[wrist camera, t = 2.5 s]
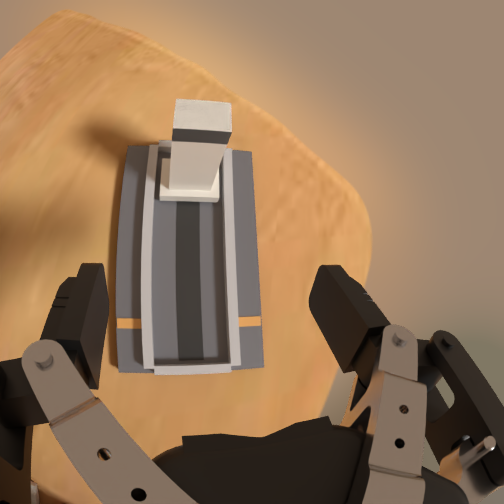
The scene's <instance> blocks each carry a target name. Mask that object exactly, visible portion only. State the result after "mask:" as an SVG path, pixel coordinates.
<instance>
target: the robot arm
mask: <svg viewBox="0 0 504 504" xmlns="http://www.w3.org/2000/svg"><path fill="white" fill-rule="evenodd" d="M309 308H310V311H311V313H312V315H313V317H314V319H315V320H316V322H317V324H318V326H319V328H320V330H321V332H322V334H323V335H324V337H325V339H326V341H327V343H328V345H329V347H330V349H331V350H332V352H333V354H334V356H335V358H336V360H337V362H338V364H339V366H340V367H341V369H342V371H343V373H347V372H352V371H356V373H357V375H356V377H355V378H354V382H353V386H352V389H351V393H350V397H349V401H348V405H347V408H346V412H345V416H344V418H343V421H342V422H341V425H332V424H331V421H330V419H329V417H328V416H326V417H321V418H317V419H312V420H308V421H303V422H298V423H295V424H293V425H290V426H288V427H286V428H284V429H282V430H279V431H277V432H275V433H272V434H270V435H268V436H265V437H247V436H237V435H228V434H210V435H194V436H182V443H183V445H181V446H178V447H174V448H172V449H169V450H167V451H165V452H163V453H161V454H159V455H158V456H156V457H155V458H154V459H152V460H151V459H150V458H149V457H148V456H147V455H146V454H145V453H144V451H143V450H142V449H141V448H140V447H139V446H138V445H137V444H136V443H135V441H134V440H133V439H132V438H131V437H130V436H129V435H128V433H127V432H126V431H125V430H124V429H123V427H122V426H121V425H120V424H119V423H118V421H117V420H116V419H115V418H114V416H113V415H112V414H111V413H110V411H109V410H108V409H107V407H106V406H105V405H104V404H103V402H102V401H101V400H100V399H99V398H98V397H97V398H96V397H95V396H94V395H93V393H92V392H91V390H90V389H97V390H98V388H99V378H100V369H101V361H102V354H103V347H104V340H105V334H106V328H107V322H108V316H109V298H108V292H107V285H106V279H105V272H104V266H103V264H102V263H82V264H81V266H80V269H79V271H78V274H77V277H68V278H67V279H66V280H65V281H64V282H63V283H62V284H61V285H60V286H59V289H58V291H57V294H56V296H55V299H54V301H53V304H52V308H51V309H50V312H49V315H48V317H47V320H46V323H45V326H44V329H43V332H42V335H41V338H40V340H39V341H36V342H34V343H32V344H31V345H30V346H28V348H27V349H26V350H25V351H24V353H23V356H22V357H21V358H17V359H12V360H7V361H1V362H0V504H31V450H32V435H33V425H38V424H44V423H49V422H50V424H49V426H50V428H51V430H52V432H53V434H54V435H55V437H56V439H57V440H58V442H59V444H60V445H61V447H62V448H63V450H64V452H65V453H66V455H67V456H68V458H69V459H70V461H71V462H72V464H73V465H74V467H75V468H76V469H77V471H78V472H79V474H80V475H81V476H82V478H83V479H84V480H85V482H86V483H87V485H88V486H89V487H90V488H91V490H92V491H93V492H94V494H95V495H96V496H97V497H98V499H99V500H100V501H101V502H102V503H103V504H478V503H479V502H480V501H482V500H483V499H484V498H485V497H487V496H488V495H489V494H490V493H492V492H494V491H496V490H497V489H499V488H501V487H502V486H504V407H503V405H502V403H501V402H500V400H499V399H498V397H497V395H496V394H495V392H494V391H493V389H492V388H491V386H490V385H489V383H488V382H487V380H486V379H485V377H484V376H483V374H482V373H481V371H480V370H479V368H478V367H477V366H476V364H475V363H474V361H473V360H472V359H471V357H470V356H469V354H468V353H467V352H466V351H465V349H464V347H463V346H462V345H461V343H460V342H459V341H458V340H457V338H456V337H455V336H453V335H452V334H450V333H449V332H446V331H442V330H439V331H436V332H435V333H434V334H433V336H432V337H431V339H430V340H420V339H416V338H415V336H414V335H413V334H412V332H411V331H409V330H408V329H406V328H405V327H402V326H399V325H391V324H390V322H389V321H388V320H387V318H386V317H385V316H384V314H383V313H382V312H381V310H380V309H379V308H378V307H377V305H376V304H375V302H373V300H372V299H371V297H370V296H369V295H367V292H366V291H365V289H364V288H363V287H362V285H361V284H359V283H358V282H357V281H355V280H354V279H353V278H351V277H349V276H348V274H347V273H346V272H345V270H344V269H343V268H342V267H341V266H340V265H321V266H320V267H319V269H318V271H317V274H316V277H315V281H314V284H313V287H312V290H311V293H310V296H309ZM441 377H444V379H445V380H446V382H447V383H448V385H449V387H450V388H451V390H452V391H453V393H454V397H455V400H454V404H453V405H452V407H451V408H450V409H449V408H448V406H447V404H446V403H445V401H444V399H443V397H442V396H441V394H440V393H439V391H438V389H437V388H436V386H435V385H436V384H437V382H438V381H439V380H440V379H441ZM425 437H426V439H427V441H428V443H429V445H430V447H431V449H432V451H433V453H434V455H435V457H436V460H437V462H438V464H439V466H440V471H438V472H437V473H435V472H433V471H431V470H429V469H427V468H425V467H423V466H422V459H423V449H424V439H425Z"/></svg>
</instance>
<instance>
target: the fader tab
mask: <svg viewBox="0 0 504 504" xmlns="http://www.w3.org/2000/svg"><path fill="white" fill-rule="evenodd" d="M231 133H232V118H231V103H226V102H215V101H204V100H189V99H176V105H175V113H174V123H173V134H172V146H171V159H166V158H162V169H161V183H160V201H193V202H218V200H219V165H220V163H221V160H222V157H223V154H224V152H225V149H226V146H227V144H228V141H229V138H230V136H231Z"/></svg>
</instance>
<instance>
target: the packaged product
mask: <svg viewBox="0 0 504 504" xmlns="http://www.w3.org/2000/svg"><path fill="white" fill-rule="evenodd" d="M31 504H40V503H39V493H38V488H37V484H36V483H34V482H32V481H31Z"/></svg>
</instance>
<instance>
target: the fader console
mask: <svg viewBox="0 0 504 504" xmlns="http://www.w3.org/2000/svg"><path fill="white" fill-rule="evenodd" d="M171 146H172V141H169V140H159V144H158V145H150V146H128V149H127V156H126V162H125V169H124V177H123V185H122V194H121V203H120V214H119V226H118V241H117V261H116V334H117V354H118V369H119V372H123V373H154V374H155V375H186V374H210V373H226V372H231V370H240V369H252V368H262V367H264V356H263V338H262V319H261V301H260V284H259V266H258V249H257V232H256V215H255V199H254V182H253V166H252V152H249V151H238V150H232V149H230V148H226V149H225V152H224V154H223V157H222V160H221V163H220V165H219V200H218V202H193V201H160V183H161V169H162V158H166V159H171Z"/></svg>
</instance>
